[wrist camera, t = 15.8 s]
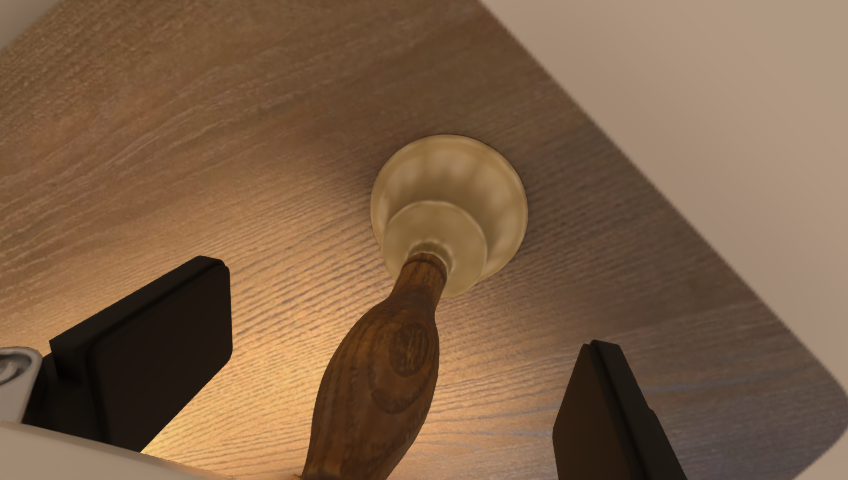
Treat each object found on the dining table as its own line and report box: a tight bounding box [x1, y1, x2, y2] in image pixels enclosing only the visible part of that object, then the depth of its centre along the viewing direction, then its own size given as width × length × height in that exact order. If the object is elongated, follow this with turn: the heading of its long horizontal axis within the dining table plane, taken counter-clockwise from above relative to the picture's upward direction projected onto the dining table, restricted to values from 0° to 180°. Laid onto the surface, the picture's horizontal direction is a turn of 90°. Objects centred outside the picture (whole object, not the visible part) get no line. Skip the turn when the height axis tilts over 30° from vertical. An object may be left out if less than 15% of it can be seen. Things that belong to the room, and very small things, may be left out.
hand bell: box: [300, 134, 528, 480], centre depth 14 cm, size 8×8×16 cm
